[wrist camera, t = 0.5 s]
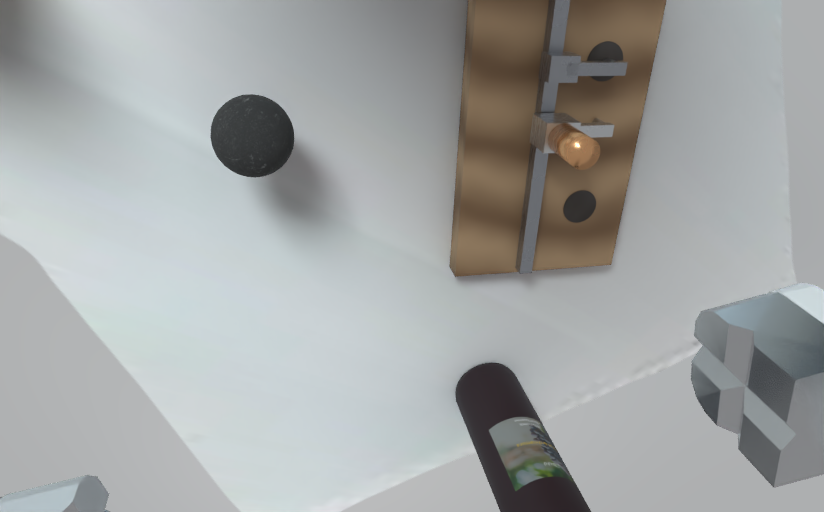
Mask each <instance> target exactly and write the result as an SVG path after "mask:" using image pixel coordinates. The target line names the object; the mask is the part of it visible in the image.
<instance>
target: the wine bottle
mask: <svg viewBox="0 0 824 512" xmlns="http://www.w3.org/2000/svg"><path fill="white" fill-rule="evenodd" d="M456 402H457V404H458V407H459V409H460V412H461V414H462V417H463V419H464V422H465V424H466V427H467V429H468V432H469V434H470V437H471V439H472V442H473V444H474V447H475V449H476V452H477V454H478V457H479V459H480V462H481V464H482V466H483V469H484V472H485V474H486V477H487V479H488V482H489V484H490V486H491V489H492V492H493V494H494V496H495V499H496V501H497V504H498V507H499V509H500V511H501V512H591V511H590V509H589V507H588V505H587V504H586V502H585V500H584V498H583V497H582V494H581V493H580V491H579V489H578V487H577V485H576V484H575V482H574V480H573V478H572V476H571V475H570V473H569V471H568V469H567V467H566V466H565V464H564V462H563V461H562V458H561V457H560V455H559V453H558V451H557V450H556V448H555V446H554V444H553V442H552V440H551V439H550V437H549V435H548V433H547V431H546V430H545V428H544V426H543V424H542V422H541V421H540V419H539V417H538V415H537V413H536V412H535V410H534V408H533V406H532V404H531V403H530V401H529V399H528V397H527V395H526V394H525V392H524V390H523V388H522V386H521V385H520V383H519V381H518V379H517V377H516V376H515V374H514V373H513V372H512V371H511V370H510V369H509V368H508V367H506V366H504V365H502V364H499V363H485V364H481V365H478V366H476V367H474V368H472V369H470V370H469V371H468V372H466V373H465V374H464V375H463V376H462V378H461V379H460V380H459V382H458V384H457V387H456Z"/></svg>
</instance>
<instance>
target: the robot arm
mask: <svg viewBox="0 0 824 512" xmlns="http://www.w3.org/2000/svg"><path fill="white" fill-rule="evenodd" d="M694 336H695V337H696V338H697V339H698V340H699V341H700V342H701V344H702V345H703V346H702V348H701V349H700V350H699V352H698V353H697V354H696V356H695V357H694V359H693V360H692V371H691V381H692V384H693V387H694V390H695V394H696V397H697V399H698V401H699V403H700V404H701V406H702V408H703V409H704V411H705V412H706V414H707V415H708V416H709V417H710V418H711V419H712V421H713V422H714V423H715V424H716V425H717V426H720V427H722V428H724V429H727V430H729V431H732V432H734V433H737V434H738V449H739V450H740V451H741V453H742V454H743V455H744V456H745V457H746V458H747V459H748V460H749V461H750V462H751V463H752V465H753V466H754V467H755V468H756V469H757V470H758V471H759V472H760V473H761V474H762V475H763V476H764V477H765V479H766V480H767V481H768V482H769V483H770V484H771V485H772V486H773V487H778V486H782V485H785V484H789V483H793V482H797V481H800V480H804V479H808V478H811V477H815V476H819V475H822V474H824V290H822V289H821V288H819V287H818V286H816V285H812V284H808V283H799V284H796V285H792V286H789V287H785V288H782V289H778V290H775V291H771V292H769V293H767V294H762V295H759V296H755V297H751V298H748V299H744V300H741V301H737V302H733V303H730V304H726V305H722V306H719V307H715V308H711V309H708V310H704V311H701V313H700V314H699V316H698V318H697V320H696V323H695V333H694ZM108 496H109V493H108V492H107V490H106V489H105V487H104V486H103V484H102V483H101V481H100V480H99V479H98V477H97V476H90V475H85V476H81V477H77V478H73V479H69V480H65V481H61V482H57V483H53V484H48V485H45V486H40V487H36V488H32V489H28V490H24V491H20V492H15V493H12V494H7V495H5V496H4V497H0V512H110V511H107V510H105V507H106V503H107V500H108Z"/></svg>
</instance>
